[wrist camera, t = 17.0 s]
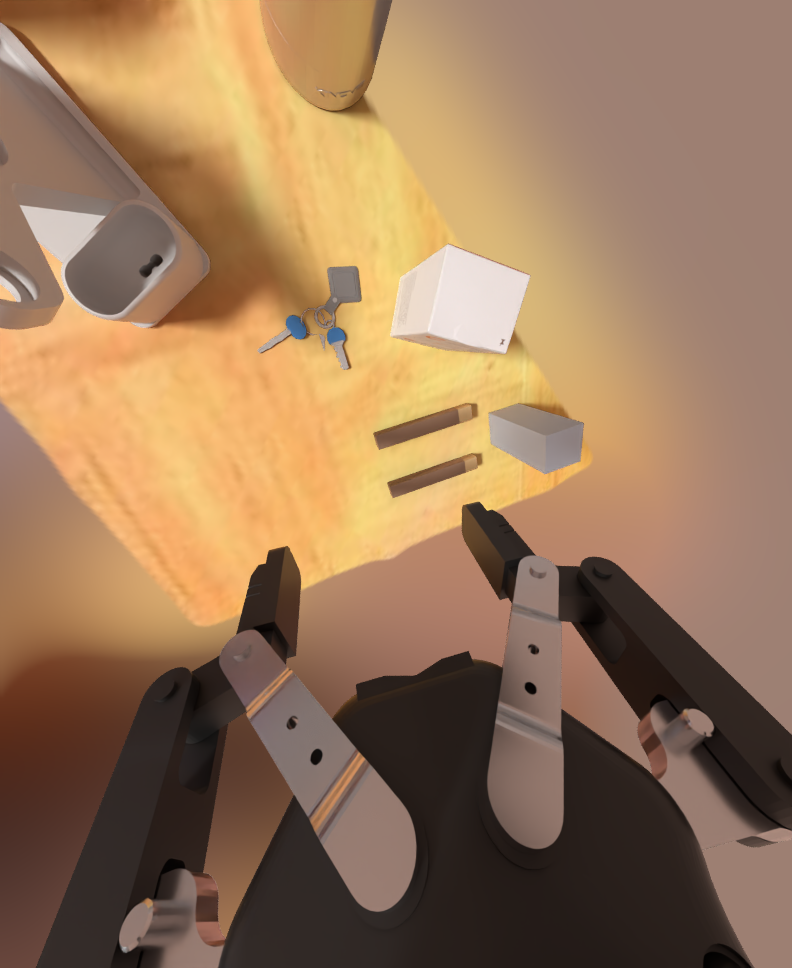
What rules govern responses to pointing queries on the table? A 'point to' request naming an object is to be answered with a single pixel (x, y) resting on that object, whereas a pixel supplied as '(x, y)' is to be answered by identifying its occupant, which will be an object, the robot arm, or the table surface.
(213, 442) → the table surface
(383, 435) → the pair of brown sticks
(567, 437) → the slate block
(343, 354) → the key chain
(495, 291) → the small box
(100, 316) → the phone holder
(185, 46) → the table surface
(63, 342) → the table surface
